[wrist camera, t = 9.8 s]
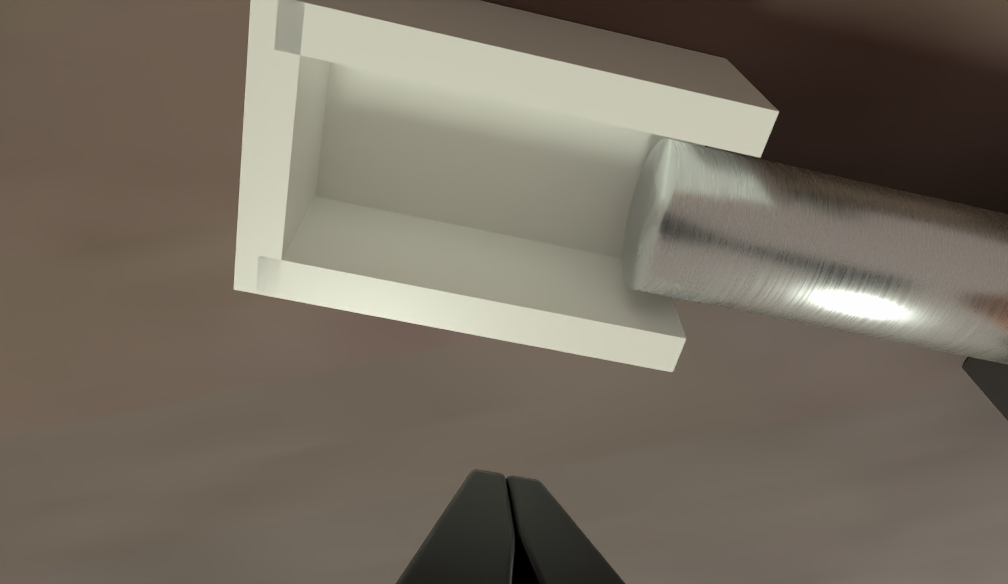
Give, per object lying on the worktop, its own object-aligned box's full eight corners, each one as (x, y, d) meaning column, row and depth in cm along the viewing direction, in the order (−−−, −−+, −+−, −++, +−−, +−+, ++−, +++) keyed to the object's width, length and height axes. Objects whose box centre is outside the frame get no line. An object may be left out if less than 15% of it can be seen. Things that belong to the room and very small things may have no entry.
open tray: (281, 209, 22) (233, 289, 18) (303, -42, 18) (251, -10, 15) (644, 282, 23) (672, 372, 19) (726, 58, 20) (779, 111, 16)
